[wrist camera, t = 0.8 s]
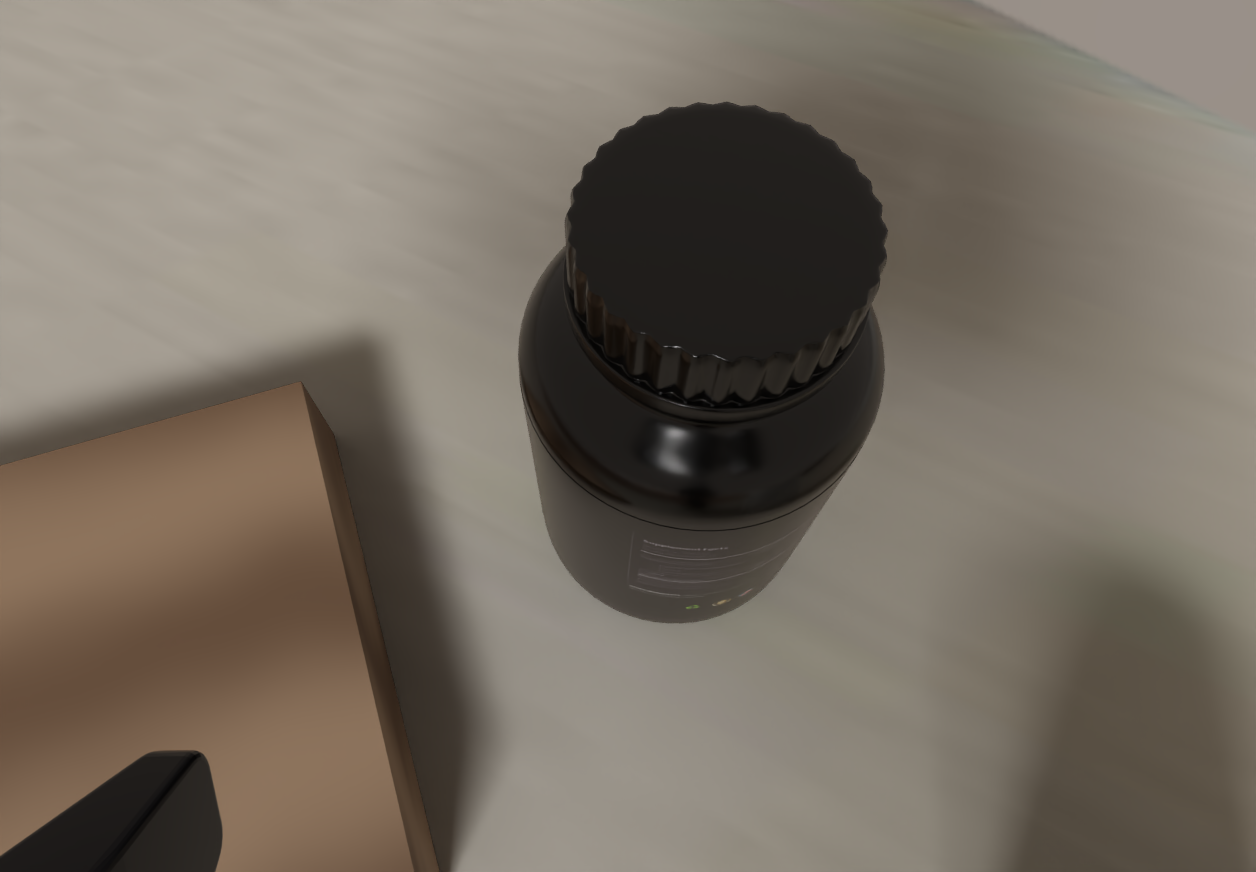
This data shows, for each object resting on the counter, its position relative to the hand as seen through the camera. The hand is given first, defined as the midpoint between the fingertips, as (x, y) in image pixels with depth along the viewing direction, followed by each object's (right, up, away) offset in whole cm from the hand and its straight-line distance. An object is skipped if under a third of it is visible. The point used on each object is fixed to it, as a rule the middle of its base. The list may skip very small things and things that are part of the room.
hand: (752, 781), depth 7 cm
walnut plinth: (-13, -4, +13) cm, 19 cm away
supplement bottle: (0, +1, +17) cm, 17 cm away
